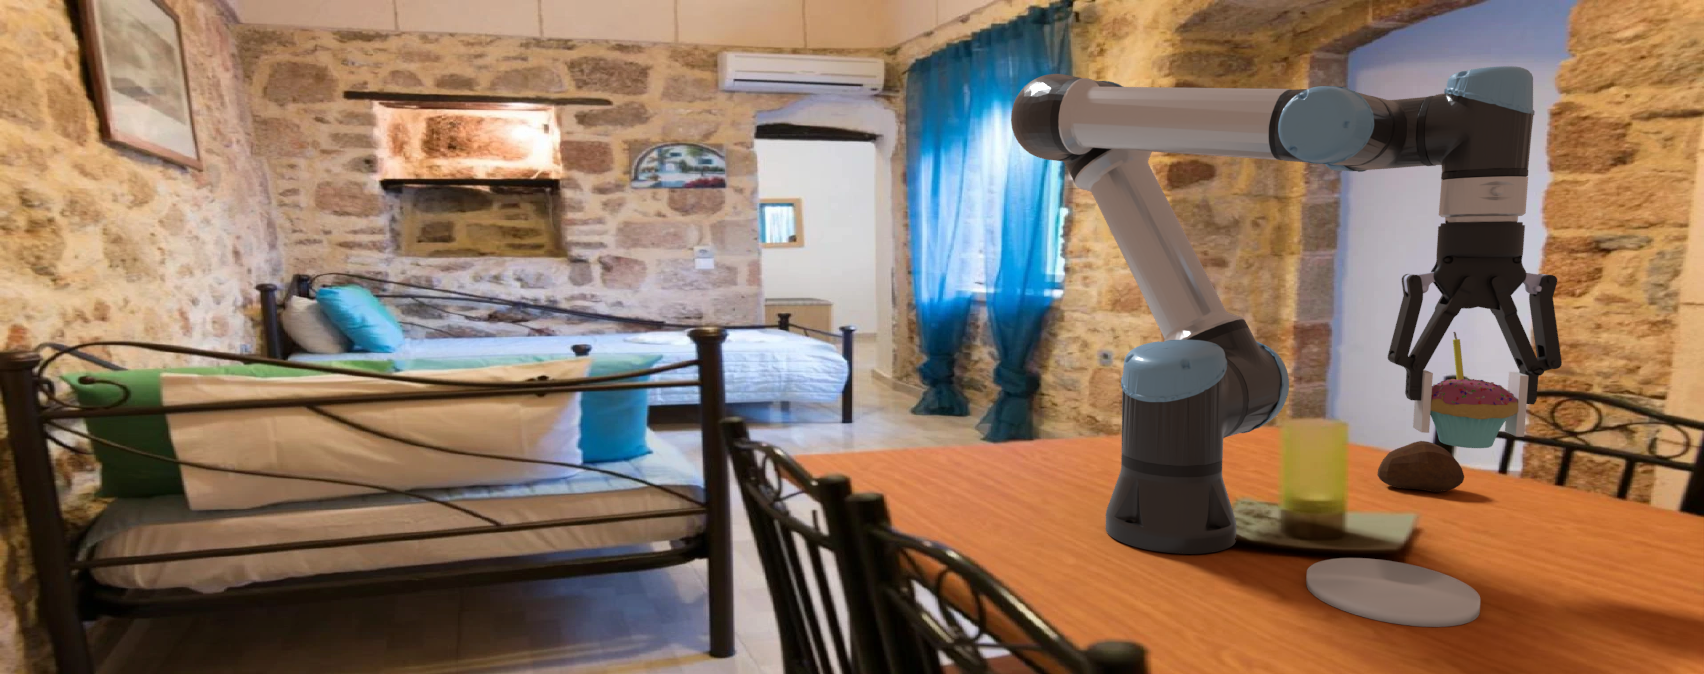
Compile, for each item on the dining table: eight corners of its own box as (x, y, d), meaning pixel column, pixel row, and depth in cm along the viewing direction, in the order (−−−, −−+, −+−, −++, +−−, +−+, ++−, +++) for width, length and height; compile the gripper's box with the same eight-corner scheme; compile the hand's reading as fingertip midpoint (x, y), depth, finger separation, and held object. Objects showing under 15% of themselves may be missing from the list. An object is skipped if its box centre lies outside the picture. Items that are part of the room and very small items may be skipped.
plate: (1325, 617, 86) (1325, 605, 85) (1292, 563, 100) (1293, 552, 100) (1507, 633, 82) (1508, 621, 81) (1446, 574, 96) (1447, 563, 96)
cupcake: (1402, 439, 100) (1408, 331, 98) (1453, 432, 103) (1459, 328, 102) (1482, 456, 92) (1490, 339, 90) (1534, 447, 95) (1542, 335, 94)
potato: (1371, 480, 134) (1374, 434, 133) (1453, 485, 130) (1456, 438, 130) (1382, 492, 127) (1385, 444, 126) (1468, 498, 124) (1471, 448, 123)
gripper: (1380, 221, 94) (1368, 434, 96) (1618, 217, 88) (1600, 444, 91) (1360, 222, 101) (1350, 420, 104) (1580, 219, 96) (1563, 429, 98)
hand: (1467, 431), depth 97 cm, fingers closed on cupcake, 8 cm apart
